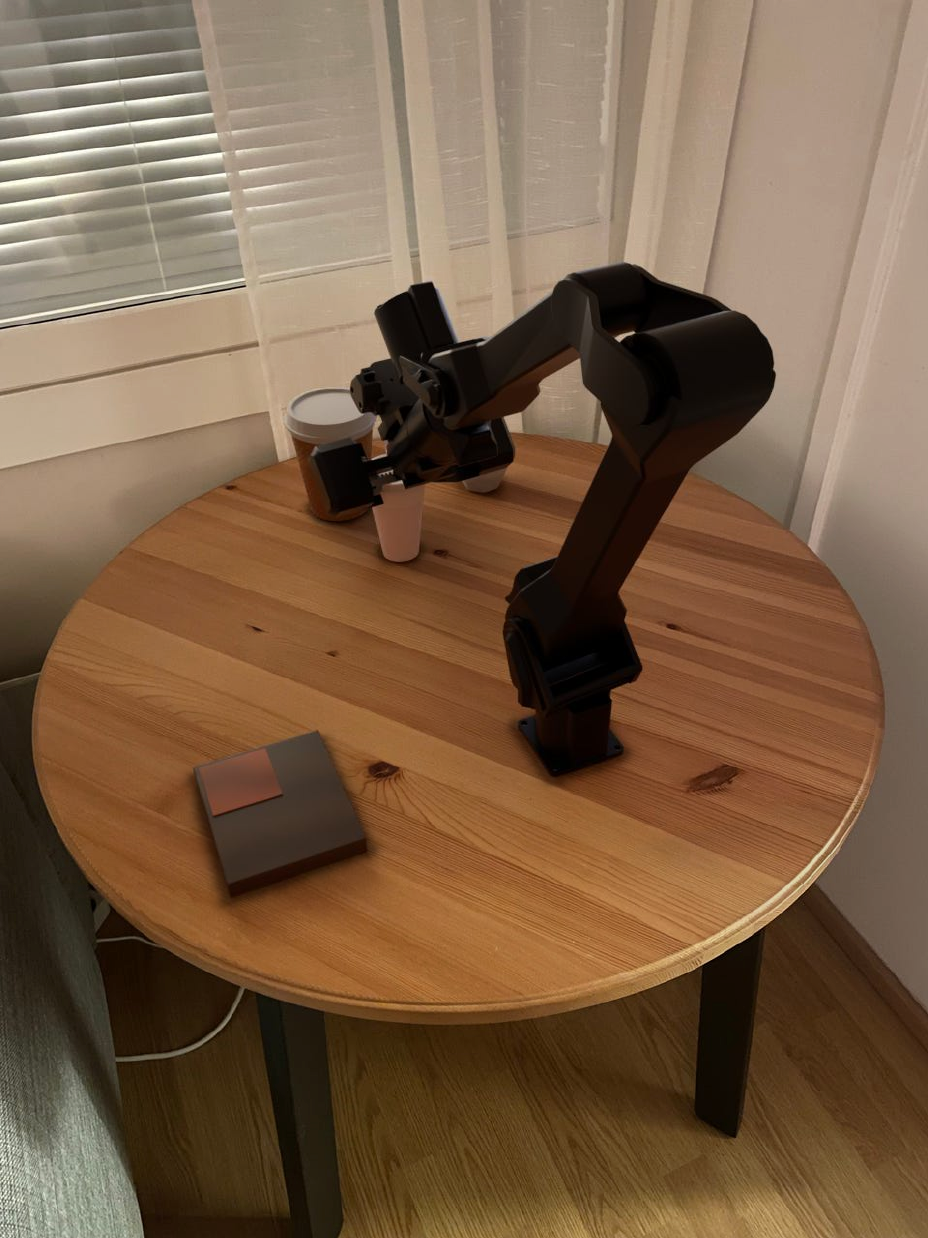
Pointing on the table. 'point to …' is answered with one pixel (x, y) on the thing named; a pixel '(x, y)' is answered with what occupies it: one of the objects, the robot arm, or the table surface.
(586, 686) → the robot arm
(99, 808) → the table surface
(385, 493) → the smoothie
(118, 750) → the table surface
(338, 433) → the disposable coffee cup
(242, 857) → the board
